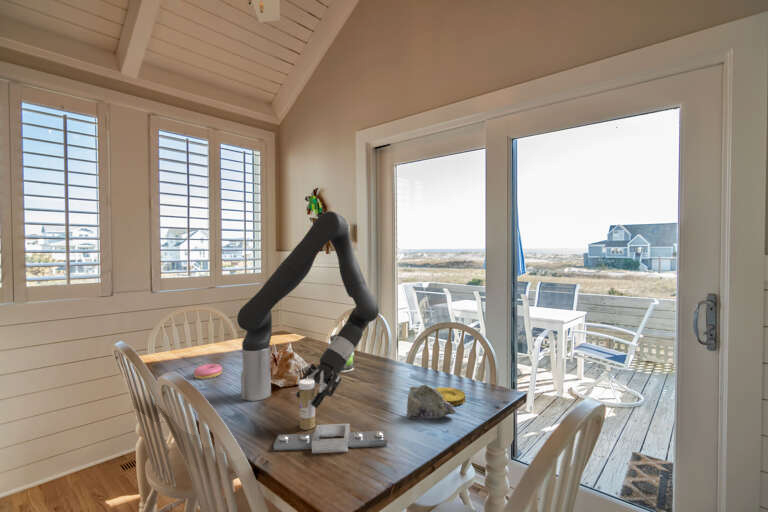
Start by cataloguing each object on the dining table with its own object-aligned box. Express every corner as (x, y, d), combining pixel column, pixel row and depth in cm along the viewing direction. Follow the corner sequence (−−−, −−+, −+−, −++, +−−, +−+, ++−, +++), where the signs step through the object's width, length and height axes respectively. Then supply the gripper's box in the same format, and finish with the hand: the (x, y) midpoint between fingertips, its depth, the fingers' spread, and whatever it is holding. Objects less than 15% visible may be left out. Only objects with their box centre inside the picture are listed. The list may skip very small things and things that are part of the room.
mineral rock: (457, 418, 111) (456, 385, 111) (435, 431, 104) (435, 395, 103) (423, 406, 120) (422, 375, 120) (401, 418, 113) (400, 384, 112)
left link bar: (273, 450, 95) (273, 442, 95) (278, 440, 100) (278, 432, 100) (313, 449, 96) (313, 440, 96) (316, 439, 101) (315, 431, 101)
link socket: (312, 453, 94) (311, 441, 94) (317, 435, 103) (316, 424, 103) (347, 451, 94) (347, 439, 94) (349, 434, 103) (349, 423, 103)
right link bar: (348, 447, 96) (348, 439, 96) (349, 437, 101) (349, 429, 101) (387, 446, 96) (386, 437, 96) (386, 436, 101) (386, 428, 101)
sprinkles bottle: (296, 427, 108) (295, 381, 108) (309, 421, 111) (308, 376, 111) (306, 432, 105) (305, 384, 105) (319, 426, 108) (317, 380, 108)
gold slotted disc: (440, 410, 118) (440, 403, 118) (423, 396, 129) (422, 390, 129) (472, 403, 122) (472, 397, 122) (452, 391, 133) (452, 385, 133)
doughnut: (207, 381, 149) (207, 371, 149) (187, 378, 153) (187, 368, 153) (228, 373, 159) (228, 363, 159) (209, 370, 163) (208, 361, 163)
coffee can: (359, 369, 160) (358, 336, 160) (338, 374, 154) (337, 340, 154) (346, 363, 168) (345, 332, 168) (326, 368, 162) (325, 336, 162)
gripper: (317, 343, 119) (285, 389, 111) (343, 351, 108) (310, 402, 100) (331, 356, 122) (301, 401, 115) (358, 365, 112) (327, 416, 104)
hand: (305, 402), depth 108 cm, fingers open, 8 cm apart
